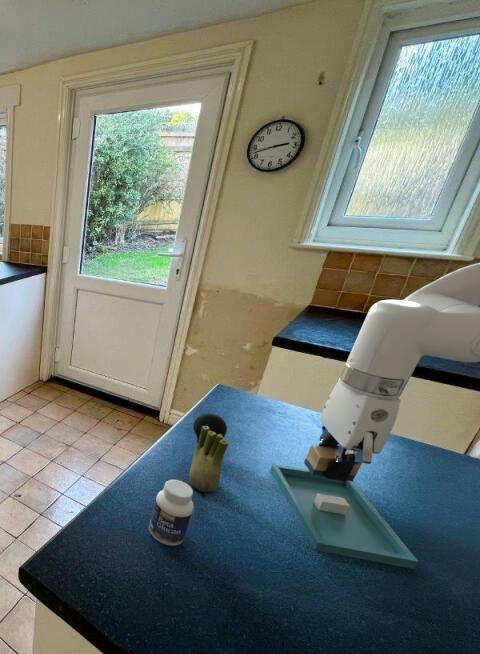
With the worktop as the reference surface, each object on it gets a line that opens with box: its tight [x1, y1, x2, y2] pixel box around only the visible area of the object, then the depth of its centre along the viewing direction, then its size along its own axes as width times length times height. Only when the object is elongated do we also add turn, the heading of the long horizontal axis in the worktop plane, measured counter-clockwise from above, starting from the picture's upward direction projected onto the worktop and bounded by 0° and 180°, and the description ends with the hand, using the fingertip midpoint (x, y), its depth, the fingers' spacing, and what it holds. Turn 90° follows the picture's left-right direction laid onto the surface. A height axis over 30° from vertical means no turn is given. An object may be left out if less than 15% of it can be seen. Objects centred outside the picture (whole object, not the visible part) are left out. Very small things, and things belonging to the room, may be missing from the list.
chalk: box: [314, 494, 350, 515], centre depth 72 cm, size 4×2×2 cm, turn 74°
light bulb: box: [192, 412, 228, 444], centre depth 84 cm, size 6×6×10 cm
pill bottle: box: [148, 479, 195, 547], centre depth 66 cm, size 5×5×10 cm
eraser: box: [303, 444, 363, 481], centre depth 73 cm, size 6×4×4 cm, turn 74°
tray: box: [269, 463, 420, 570], centre depth 71 cm, size 13×20×2 cm, turn 164°
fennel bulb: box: [188, 426, 229, 493], centre depth 76 cm, size 6×5×12 cm
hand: (328, 469), depth 73 cm, fingers closed on eraser, 3 cm apart
